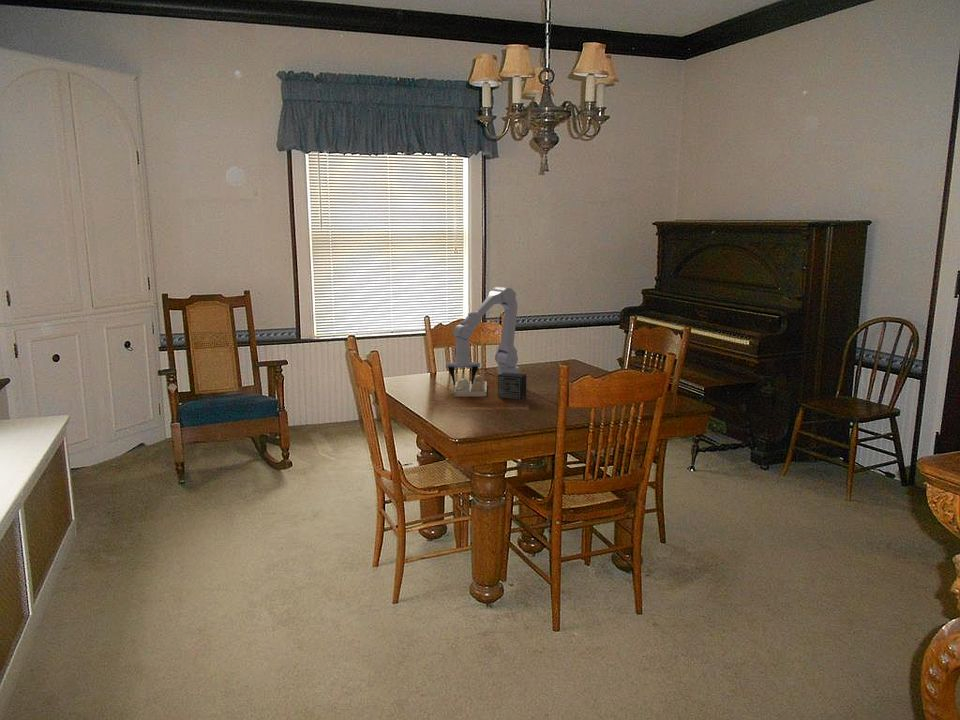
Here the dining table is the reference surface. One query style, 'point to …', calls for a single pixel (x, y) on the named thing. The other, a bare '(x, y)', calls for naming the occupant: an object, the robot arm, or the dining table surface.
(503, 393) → the small box
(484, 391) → the grey divided tray
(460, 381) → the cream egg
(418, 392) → the dining table surface
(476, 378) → the tan egg
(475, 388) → the tan egg
